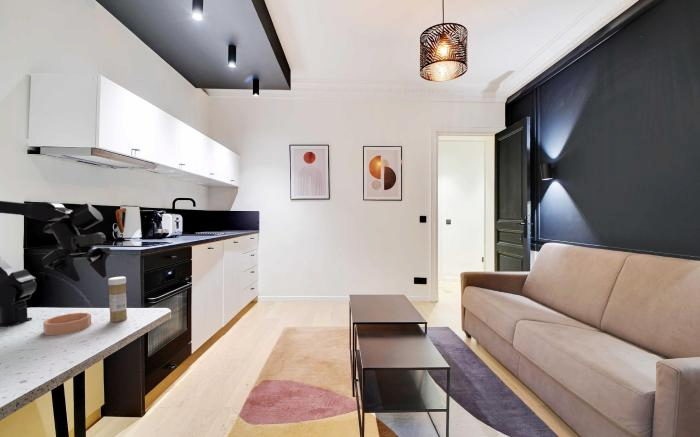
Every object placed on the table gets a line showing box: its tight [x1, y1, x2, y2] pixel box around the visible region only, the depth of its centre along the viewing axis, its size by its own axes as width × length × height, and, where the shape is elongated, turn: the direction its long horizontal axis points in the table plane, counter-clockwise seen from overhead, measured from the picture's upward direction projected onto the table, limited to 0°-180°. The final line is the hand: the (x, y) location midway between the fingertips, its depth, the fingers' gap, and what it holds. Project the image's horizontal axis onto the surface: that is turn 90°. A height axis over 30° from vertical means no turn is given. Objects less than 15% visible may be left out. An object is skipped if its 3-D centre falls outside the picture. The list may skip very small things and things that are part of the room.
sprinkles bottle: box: [107, 276, 128, 323], centre depth 103 cm, size 5×5×13 cm
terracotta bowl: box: [43, 312, 92, 336], centre depth 96 cm, size 10×10×3 cm
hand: (92, 279), depth 103 cm, fingers open, 9 cm apart
